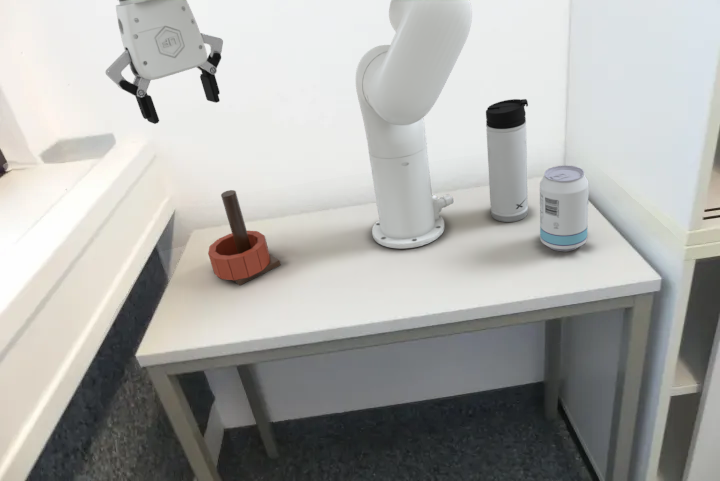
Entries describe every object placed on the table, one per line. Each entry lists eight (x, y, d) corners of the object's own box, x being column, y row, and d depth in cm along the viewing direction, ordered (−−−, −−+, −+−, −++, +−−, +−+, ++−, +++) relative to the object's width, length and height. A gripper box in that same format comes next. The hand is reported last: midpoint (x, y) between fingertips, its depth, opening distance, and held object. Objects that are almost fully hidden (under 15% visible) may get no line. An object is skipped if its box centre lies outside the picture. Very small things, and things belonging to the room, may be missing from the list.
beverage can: (596, 248, 91) (598, 175, 85) (553, 259, 90) (554, 186, 84) (572, 229, 97) (573, 160, 91) (532, 239, 96) (531, 170, 90)
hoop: (253, 245, 107) (248, 225, 105) (280, 262, 100) (274, 241, 98) (205, 267, 103) (199, 247, 101) (230, 286, 96) (223, 265, 94)
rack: (258, 250, 107) (238, 178, 101) (281, 265, 101) (261, 190, 95) (218, 269, 103) (195, 196, 97) (239, 285, 98) (216, 209, 91)
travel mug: (530, 221, 101) (528, 106, 92) (490, 223, 103) (484, 110, 93) (529, 205, 106) (527, 94, 97) (491, 206, 108) (485, 98, 98)
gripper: (88, 2, 73) (137, 134, 81) (214, -27, 81) (247, 96, 90) (72, 2, 79) (119, 126, 87) (192, -25, 87) (224, 91, 95)
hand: (184, 111), depth 88 cm, fingers open, 9 cm apart
